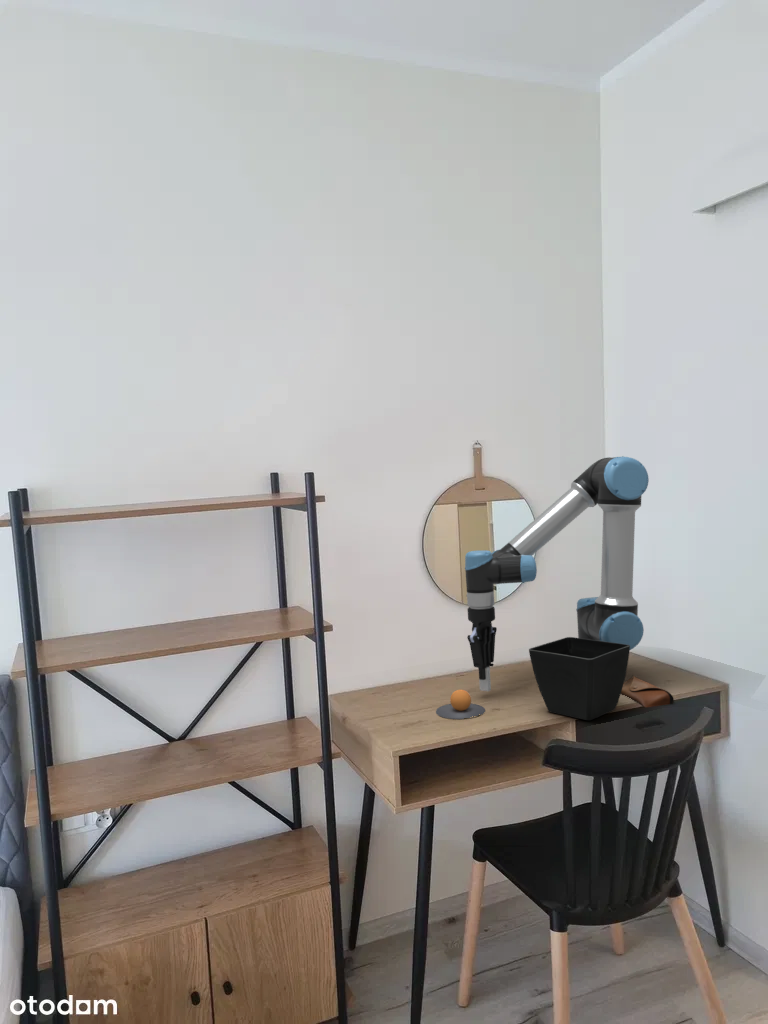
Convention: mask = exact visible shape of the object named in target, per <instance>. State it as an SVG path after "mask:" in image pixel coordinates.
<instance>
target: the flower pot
mask: <svg viewBox="0 0 768 1024" xmlns="http://www.w3.org/2000/svg"><path fill="white" fill-rule="evenodd" d="M630 651H631V650H630V645H627V644H620V643H613V642H605V641H598V640H590V639H583V638H578V637H575V636H574V637H572V636H566V637H564V638H559V639H557V640H553V641H549V642H547V643H546V642H545V643H544V644H540V645H537V646H535V647H530V648H528V653H529V659H530V663H531V666H532V671H533V673H534V678H535V680H536V683H537V684H536V685H537V687H538V689H539V692H540V694H541V697H542V699H543V700H542V701H543V702H544V705H545V707H546V708H547V711H548V712H549V713H554V714H557V715H561V716H562V715H563V716H566V717H571V718H576V719H580V720H585V721H592V720H594V719H596V718H599V717H602V716H603V715H605V714H608V713H611V712H613V711H614V710H616V708H617V705H618V704H619V699H620V697H621V691H622V687H623V684H624V682H625V679H626V675H627V671H628V670H627V669H628V663H629V656H630Z"/></svg>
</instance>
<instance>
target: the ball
mask: <svg viewBox="0 0 768 1024" xmlns="http://www.w3.org/2000/svg"><path fill="white" fill-rule="evenodd" d="M449 702H450V704H451V705H452V707H453V708H454V709H456V710H458V711H464V710H466V709H467V708H468V707H469V706H470V704H471V703H472V697H471V695H470V693H469V692H468V691H466V690H465V689H457V690H455V691H453V692H452V694H451V695H450V701H449Z"/></svg>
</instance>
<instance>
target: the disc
mask: <svg viewBox="0 0 768 1024" xmlns="http://www.w3.org/2000/svg"><path fill="white" fill-rule="evenodd" d="M484 712H486V708H485V707H484V706H483V705H481V704H477V703H472V702H471V704H470V706H469V707H468V708H467V709H466V710H464V711H458V710H456V709H454V708H453V707H452V705H451V703H448V704H443V705H442V706H439V707H438V708H436V710H435V713H436V715H437V716H439V717H441V718H443V719H448V720H465V719H464V718H470V717H472V716H473V717H474V716H478V715H479V714H480V715H481V714H482V715H484V714H485V713H484ZM483 713H484V714H483ZM482 715H481V716H482ZM478 717H479V716H478ZM470 719H471V718H470Z"/></svg>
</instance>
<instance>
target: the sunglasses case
mask: <svg viewBox="0 0 768 1024" xmlns="http://www.w3.org/2000/svg"><path fill="white" fill-rule="evenodd" d="M621 694H622V695H621ZM621 694H620V695H621V696H623V695H625V696H627V697H629V698H631V699H632V700H631V699H630V700H631V701H633V700H634V702H635V703H637V704H639V705H641V706H642V707H643V708H651V707H652V708H653V707H659V706H666V705H674V703H675V700H674V696H673V694H671V692H670V691H668V690H666V689H663V688H661V687H658V686H656V685H654V684H652V683H650V682H647V681H645V680H643V679H640V678H638V677H637V676H635V675H632V676H631V677H630V678H628V679H627V680H626V681H624V684H623V687H622V691H621ZM625 696H624V697H625ZM627 697H626V698H627ZM629 698H628V699H629Z"/></svg>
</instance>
